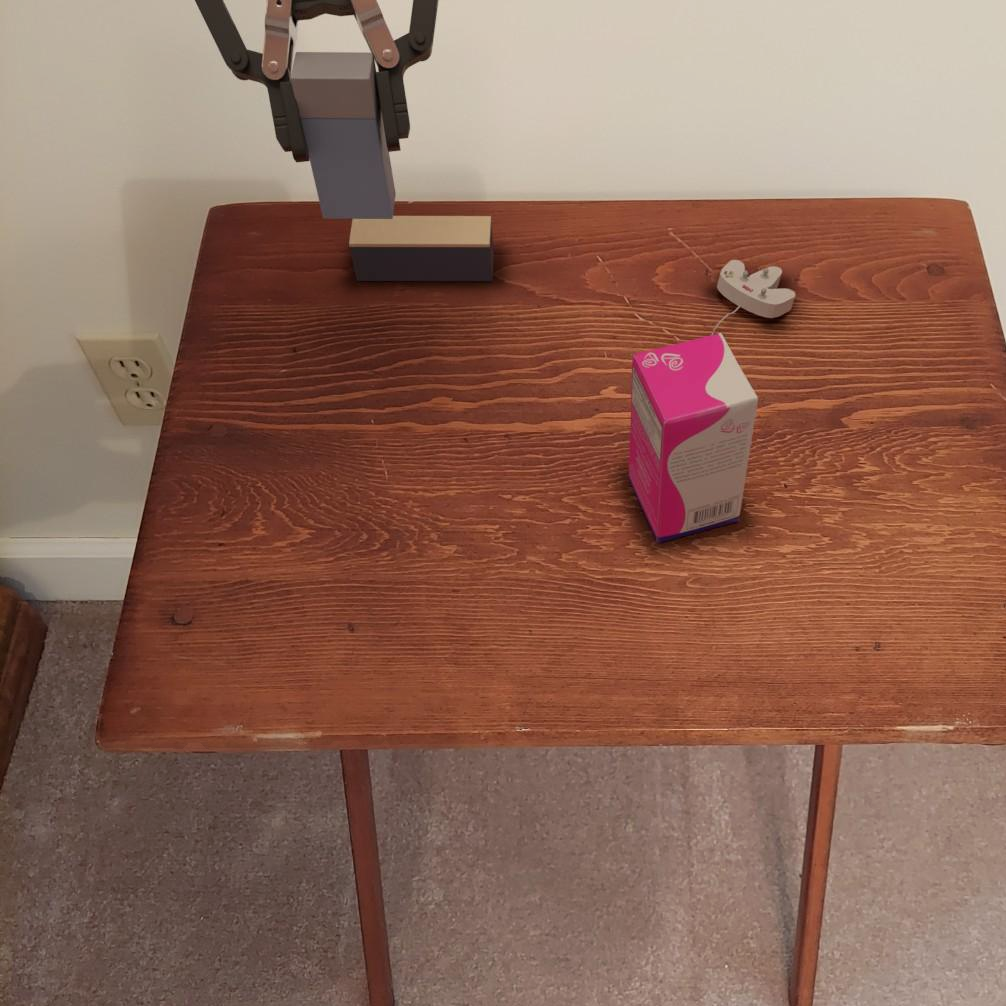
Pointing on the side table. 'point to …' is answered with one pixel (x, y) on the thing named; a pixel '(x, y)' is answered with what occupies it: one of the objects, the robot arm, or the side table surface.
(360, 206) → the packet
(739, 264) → the game controller
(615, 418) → the side table surface
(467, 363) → the side table surface
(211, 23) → the robot arm
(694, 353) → the supplement box
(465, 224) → the stand
